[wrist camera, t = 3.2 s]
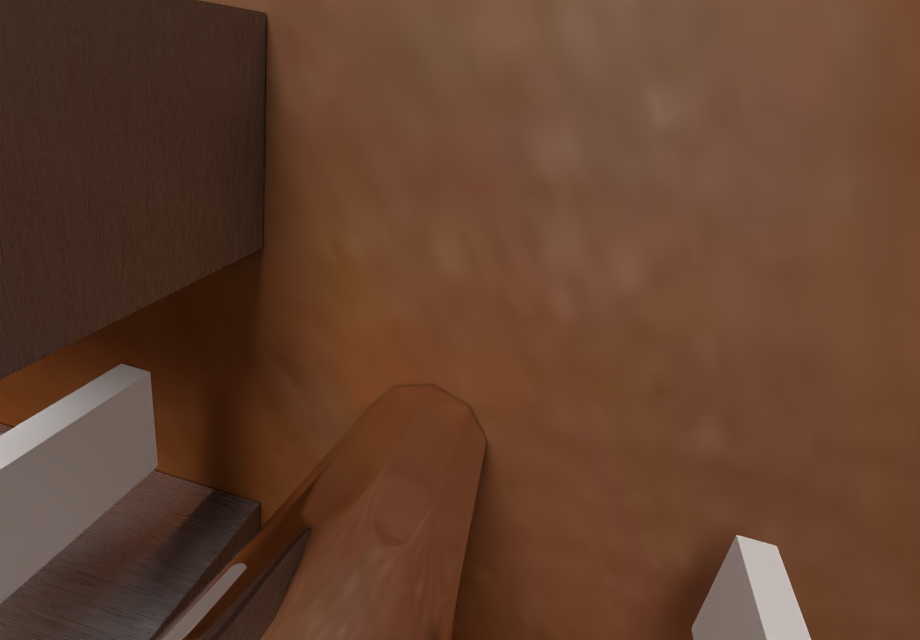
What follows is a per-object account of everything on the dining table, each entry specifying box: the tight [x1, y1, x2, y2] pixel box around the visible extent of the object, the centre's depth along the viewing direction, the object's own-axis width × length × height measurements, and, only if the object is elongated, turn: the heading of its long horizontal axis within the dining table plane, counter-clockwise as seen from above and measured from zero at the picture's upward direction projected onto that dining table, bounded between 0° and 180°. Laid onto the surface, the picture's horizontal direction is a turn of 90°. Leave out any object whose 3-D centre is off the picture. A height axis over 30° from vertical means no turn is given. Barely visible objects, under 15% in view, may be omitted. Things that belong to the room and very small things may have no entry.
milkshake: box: [155, 385, 486, 640], centre depth 10 cm, size 4×5×10 cm
